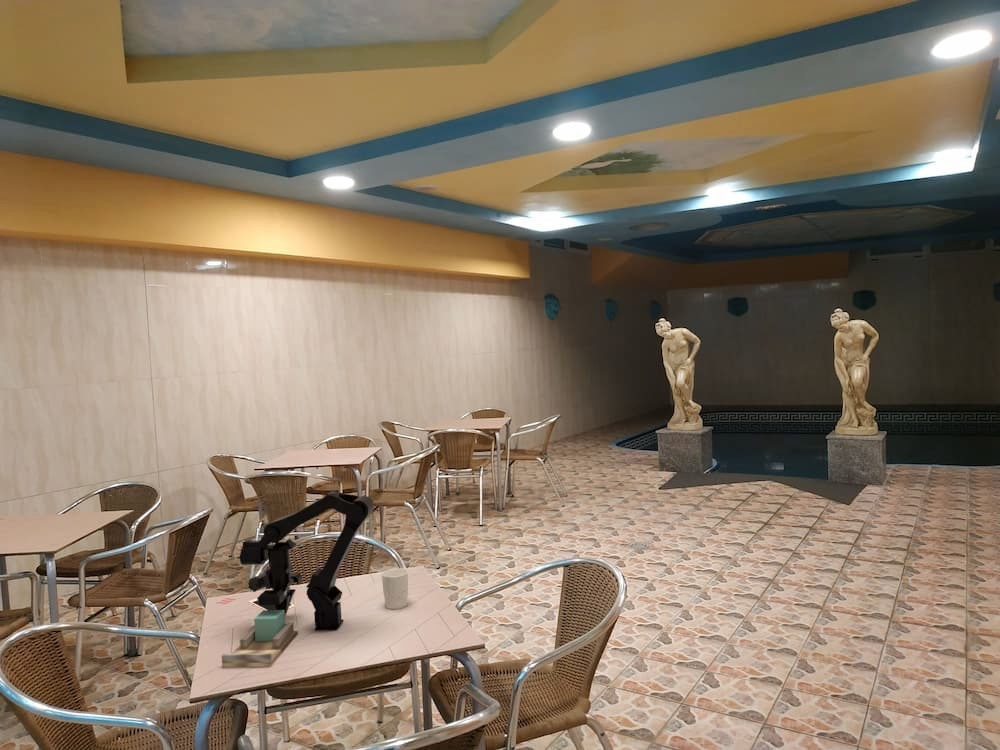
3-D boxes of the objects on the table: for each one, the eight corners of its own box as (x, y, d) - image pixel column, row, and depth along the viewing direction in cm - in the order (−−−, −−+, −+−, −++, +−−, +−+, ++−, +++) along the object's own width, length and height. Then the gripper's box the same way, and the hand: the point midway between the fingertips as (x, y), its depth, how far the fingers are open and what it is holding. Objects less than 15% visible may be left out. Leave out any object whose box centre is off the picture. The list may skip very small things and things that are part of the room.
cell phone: (271, 595, 225) (271, 593, 225) (296, 607, 214) (296, 605, 214) (247, 602, 219) (247, 600, 219) (272, 615, 208) (272, 613, 208)
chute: (297, 634, 192) (297, 622, 192) (270, 666, 173) (269, 653, 173) (254, 634, 193) (253, 622, 193) (222, 667, 174) (221, 653, 174)
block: (285, 631, 192) (284, 609, 192) (277, 640, 186) (276, 618, 186) (264, 631, 193) (263, 610, 192) (255, 641, 187) (254, 619, 186)
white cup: (415, 602, 212) (413, 570, 212) (397, 611, 205) (396, 578, 205) (395, 598, 216) (393, 567, 216) (377, 607, 210) (376, 574, 209)
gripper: (265, 554, 207) (268, 606, 208) (237, 575, 189) (240, 632, 189) (301, 553, 206) (304, 605, 207) (277, 574, 188) (280, 631, 188)
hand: (282, 618), depth 198 cm, fingers closed
